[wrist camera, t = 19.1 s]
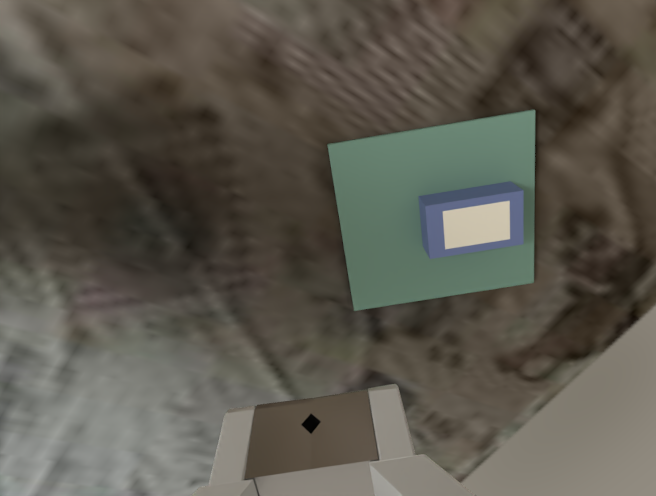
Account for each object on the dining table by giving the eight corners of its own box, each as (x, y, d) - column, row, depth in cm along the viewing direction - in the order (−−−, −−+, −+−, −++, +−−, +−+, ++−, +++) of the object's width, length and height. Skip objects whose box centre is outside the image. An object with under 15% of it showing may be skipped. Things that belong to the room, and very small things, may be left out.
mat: (353, 308, 41) (354, 310, 41) (327, 144, 36) (327, 145, 35) (531, 280, 41) (533, 282, 41) (532, 109, 35) (535, 110, 35)
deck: (425, 206, 35) (523, 190, 35) (418, 196, 37) (510, 181, 37) (429, 259, 37) (523, 244, 36) (422, 246, 39) (511, 232, 39)
